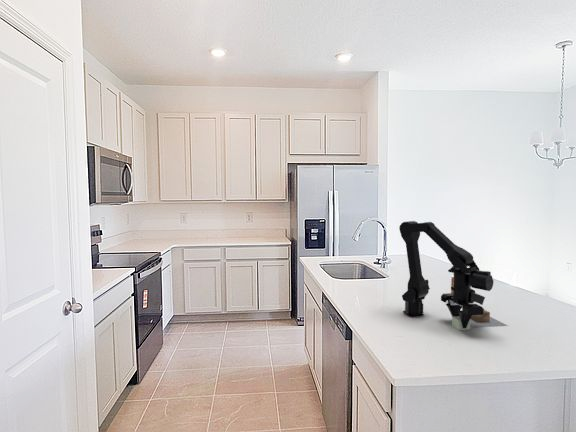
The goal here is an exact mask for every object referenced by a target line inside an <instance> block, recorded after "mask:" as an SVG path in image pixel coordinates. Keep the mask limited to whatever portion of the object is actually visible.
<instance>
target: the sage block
mask: <svg viewBox="0 0 576 432" xmlns="http://www.w3.org/2000/svg"><path fill="white" fill-rule="evenodd" d="M451 327H453V328H454V329H456V330H458V331H462V330H463V331H466V330H471V329H470V328H471V326H470V320H469V323H468V325H467V327H466V328H463V327H462V323H461V319H460V316H452V315H451Z"/></svg>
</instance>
